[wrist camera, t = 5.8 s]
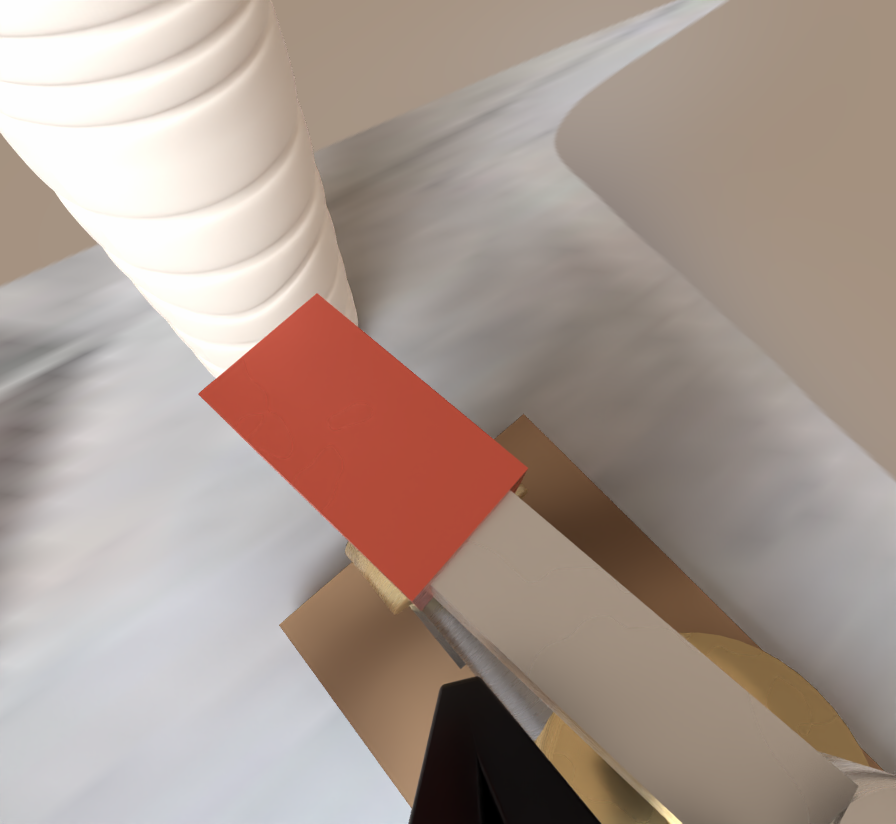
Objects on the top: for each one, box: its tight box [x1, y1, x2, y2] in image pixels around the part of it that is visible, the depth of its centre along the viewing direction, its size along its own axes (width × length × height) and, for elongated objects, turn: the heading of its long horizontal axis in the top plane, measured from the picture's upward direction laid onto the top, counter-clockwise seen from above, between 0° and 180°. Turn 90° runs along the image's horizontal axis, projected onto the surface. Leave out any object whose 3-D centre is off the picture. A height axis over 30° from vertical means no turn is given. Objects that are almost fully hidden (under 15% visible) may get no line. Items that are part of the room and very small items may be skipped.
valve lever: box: [199, 293, 896, 824], centre depth 8 cm, size 12×3×3 cm, turn 48°
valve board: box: [279, 414, 885, 808], centre depth 17 cm, size 22×11×2 cm, turn 42°
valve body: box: [345, 483, 870, 824], centre depth 12 cm, size 18×6×9 cm, turn 42°
